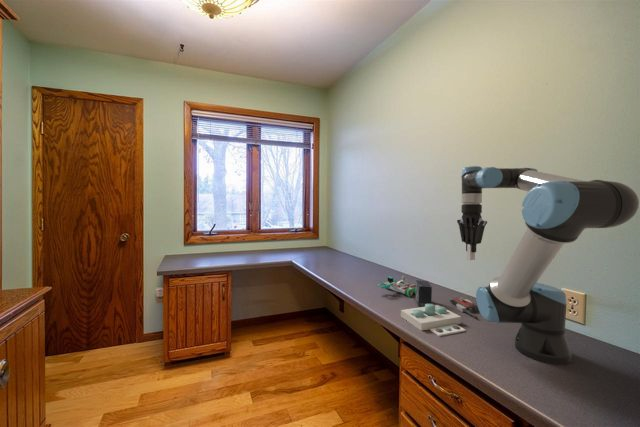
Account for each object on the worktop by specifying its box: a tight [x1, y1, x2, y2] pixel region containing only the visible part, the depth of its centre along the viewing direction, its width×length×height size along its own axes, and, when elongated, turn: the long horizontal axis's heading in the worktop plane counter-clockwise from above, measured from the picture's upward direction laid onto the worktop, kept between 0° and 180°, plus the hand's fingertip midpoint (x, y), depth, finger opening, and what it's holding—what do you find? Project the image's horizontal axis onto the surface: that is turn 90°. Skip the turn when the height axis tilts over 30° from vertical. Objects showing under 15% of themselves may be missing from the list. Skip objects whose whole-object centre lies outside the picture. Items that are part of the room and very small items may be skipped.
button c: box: [413, 310, 424, 318], centre depth 119 cm, size 4×4×4 cm
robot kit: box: [376, 275, 416, 298], centre depth 157 cm, size 19×25×9 cm
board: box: [400, 304, 462, 331], centre depth 121 cm, size 14×20×3 cm
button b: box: [425, 303, 436, 316], centre depth 120 cm, size 4×4×4 cm
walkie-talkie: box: [449, 297, 480, 319], centre depth 131 cm, size 9×4×20 cm
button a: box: [436, 305, 448, 314], centre depth 122 cm, size 4×4×4 cm
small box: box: [415, 279, 433, 308], centre depth 140 cm, size 11×6×10 cm, turn 168°
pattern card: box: [429, 324, 467, 337], centre depth 111 cm, size 5×13×1 cm, turn 108°
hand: (471, 259), depth 117 cm, fingers closed
